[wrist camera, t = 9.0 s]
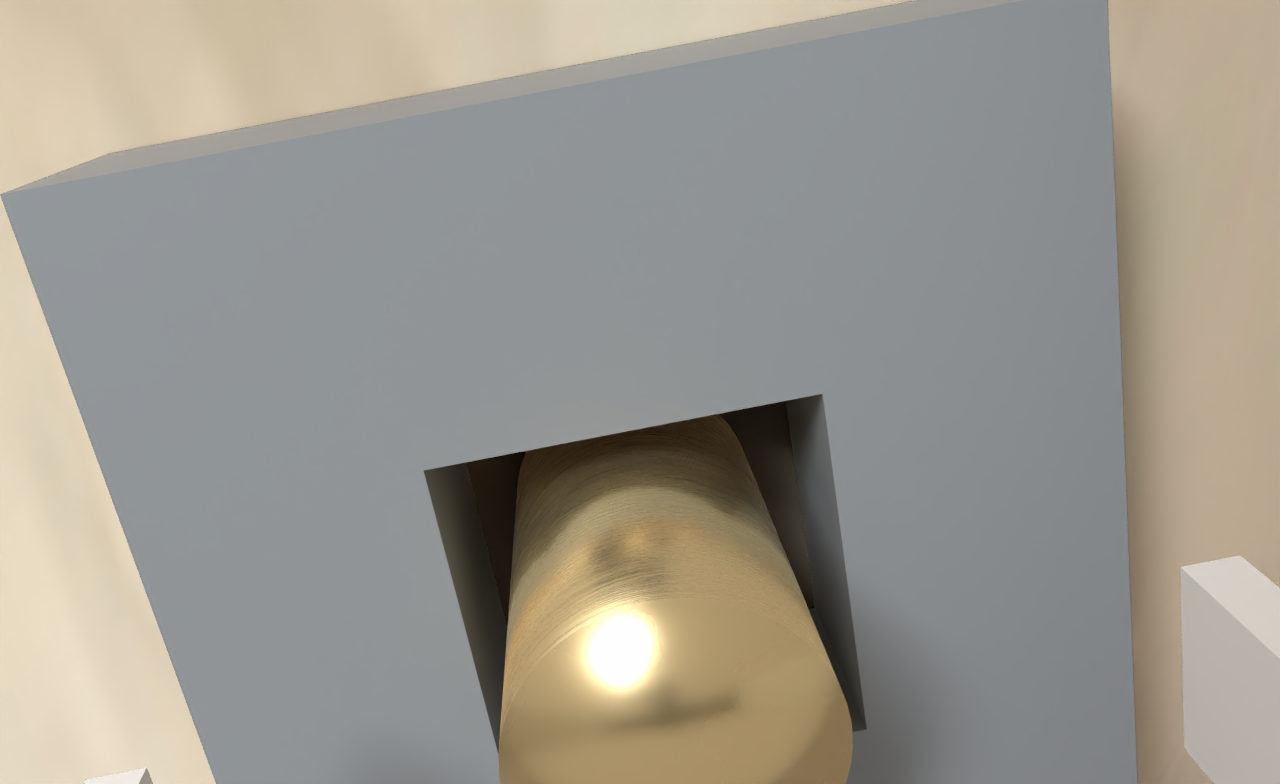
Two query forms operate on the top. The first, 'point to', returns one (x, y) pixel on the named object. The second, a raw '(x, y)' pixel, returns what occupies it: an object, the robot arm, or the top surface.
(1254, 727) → the robot arm
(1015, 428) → the jig
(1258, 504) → the top surface
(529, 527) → the gold metal cylinder
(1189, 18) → the top surface
